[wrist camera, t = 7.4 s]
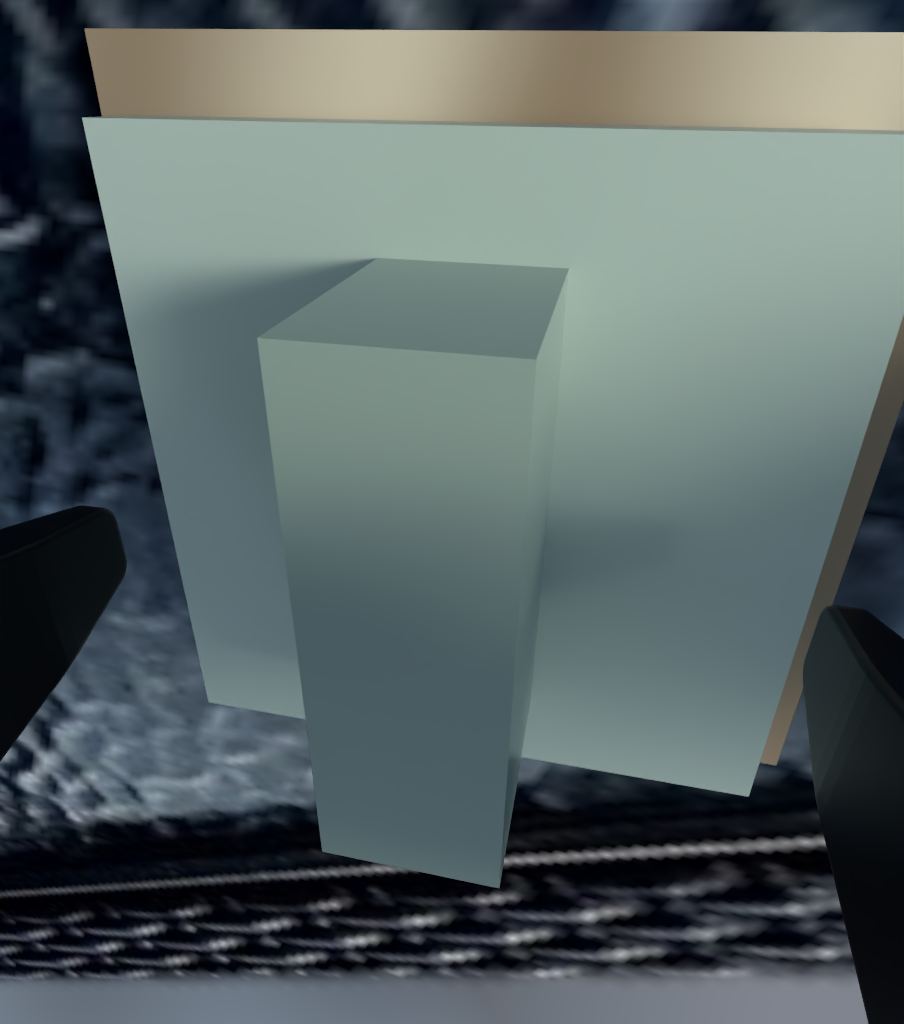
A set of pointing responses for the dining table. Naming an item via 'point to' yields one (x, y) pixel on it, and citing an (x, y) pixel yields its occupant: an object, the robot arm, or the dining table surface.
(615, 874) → the dining table surface
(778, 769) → the dining table surface
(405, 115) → the board
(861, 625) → the robot arm
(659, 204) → the lid
